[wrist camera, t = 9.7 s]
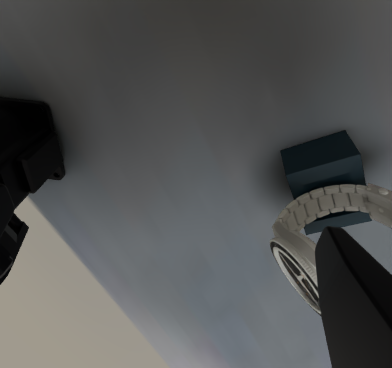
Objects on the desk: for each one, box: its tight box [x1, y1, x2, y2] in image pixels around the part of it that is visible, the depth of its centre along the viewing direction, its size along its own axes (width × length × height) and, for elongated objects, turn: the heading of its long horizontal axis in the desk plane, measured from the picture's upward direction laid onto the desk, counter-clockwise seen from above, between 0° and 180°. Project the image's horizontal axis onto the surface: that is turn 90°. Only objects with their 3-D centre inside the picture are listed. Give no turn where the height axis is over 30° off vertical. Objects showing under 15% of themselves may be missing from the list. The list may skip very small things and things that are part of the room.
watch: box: [270, 131, 392, 316], centre depth 18 cm, size 6×8×11 cm
